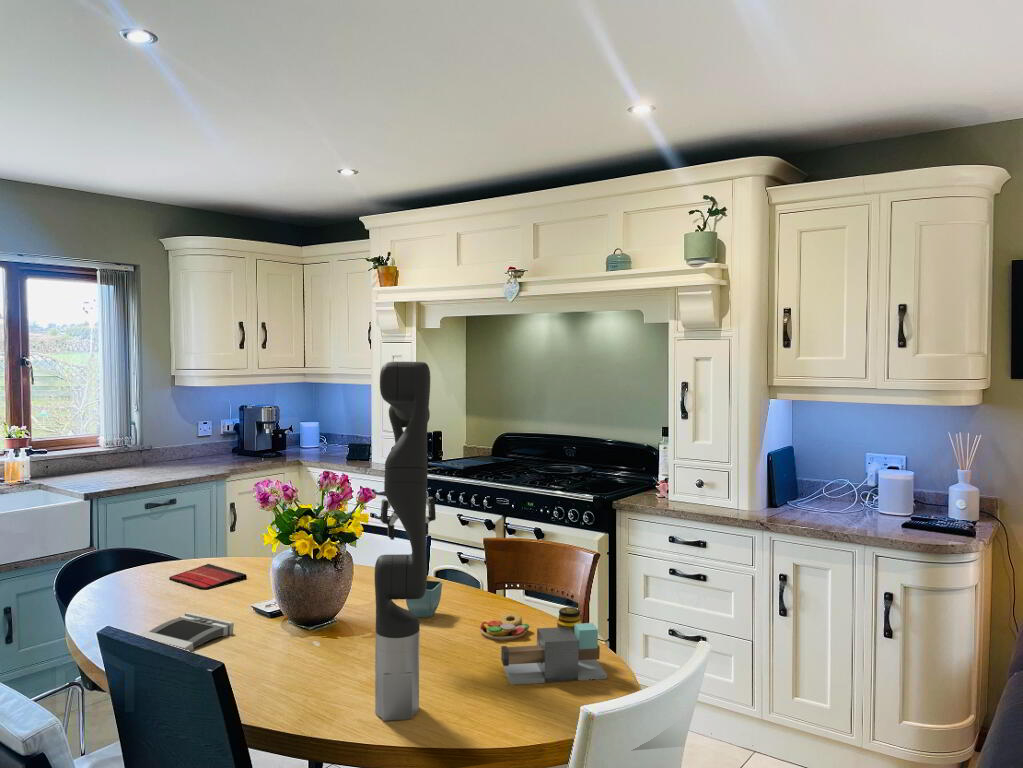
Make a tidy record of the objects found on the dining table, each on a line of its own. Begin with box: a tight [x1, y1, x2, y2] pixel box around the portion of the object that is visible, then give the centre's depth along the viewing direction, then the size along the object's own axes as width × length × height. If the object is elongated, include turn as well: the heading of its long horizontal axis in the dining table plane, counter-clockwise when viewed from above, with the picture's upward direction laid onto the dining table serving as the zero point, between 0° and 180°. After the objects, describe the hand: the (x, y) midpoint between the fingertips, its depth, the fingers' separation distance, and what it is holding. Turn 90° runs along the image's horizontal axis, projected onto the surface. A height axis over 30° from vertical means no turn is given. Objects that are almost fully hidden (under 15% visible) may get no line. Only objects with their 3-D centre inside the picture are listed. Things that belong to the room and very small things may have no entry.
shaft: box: [500, 644, 601, 667], centre depth 182 cm, size 3×23×3 cm, turn 100°
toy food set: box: [479, 613, 530, 641], centre depth 209 cm, size 13×13×3 cm
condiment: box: [556, 606, 582, 633], centre depth 193 cm, size 7×8×12 cm
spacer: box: [574, 622, 599, 649], centre depth 183 cm, size 4×4×4 cm
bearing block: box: [536, 626, 579, 684], centre depth 182 cm, size 9×8×10 cm
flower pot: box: [405, 579, 443, 619], centre depth 222 cm, size 9×9×9 cm
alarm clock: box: [140, 612, 235, 652], centre depth 202 cm, size 17×5×16 cm
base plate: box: [503, 659, 608, 686], centre depth 182 cm, size 9×23×1 cm, turn 100°
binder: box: [169, 563, 248, 591], centre depth 255 cm, size 16×2×21 cm
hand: (408, 538), depth 202 cm, fingers open, 8 cm apart
